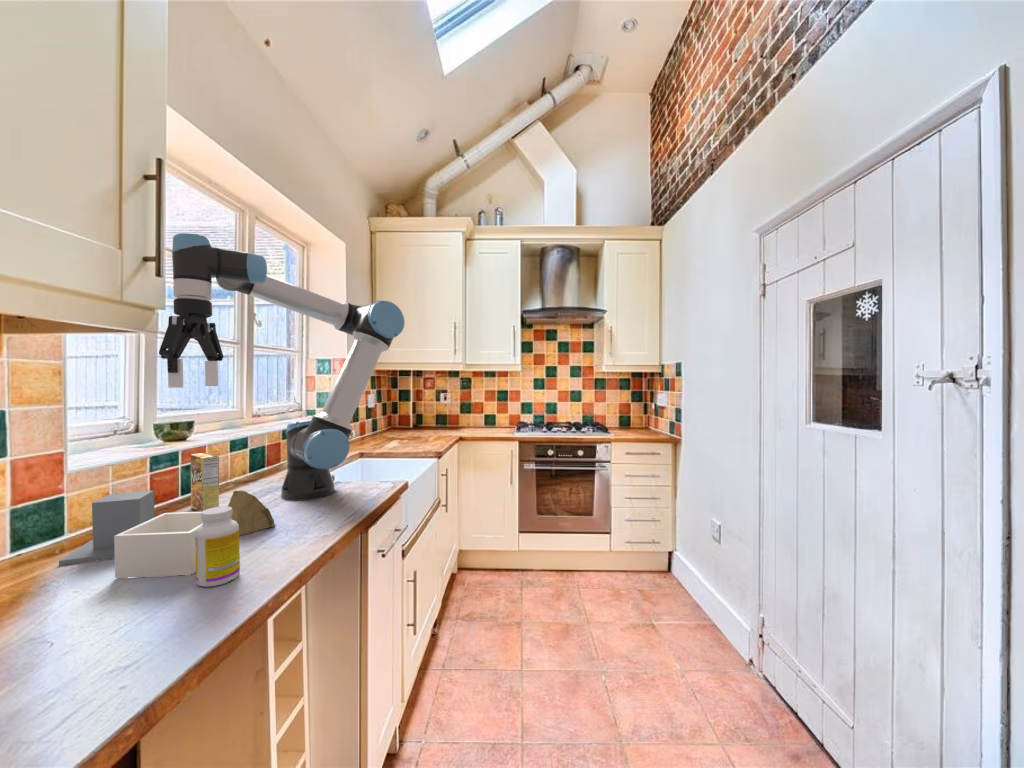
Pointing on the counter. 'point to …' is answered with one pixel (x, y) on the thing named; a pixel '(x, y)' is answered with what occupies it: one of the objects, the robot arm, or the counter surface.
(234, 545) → the supplement bottle
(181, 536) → the storage box
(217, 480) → the candy box
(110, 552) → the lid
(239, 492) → the rock
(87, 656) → the counter surface
